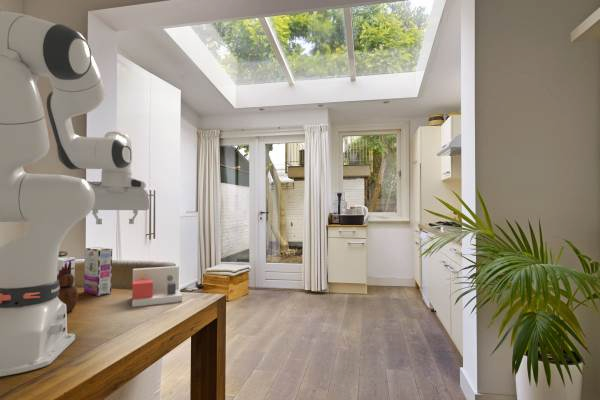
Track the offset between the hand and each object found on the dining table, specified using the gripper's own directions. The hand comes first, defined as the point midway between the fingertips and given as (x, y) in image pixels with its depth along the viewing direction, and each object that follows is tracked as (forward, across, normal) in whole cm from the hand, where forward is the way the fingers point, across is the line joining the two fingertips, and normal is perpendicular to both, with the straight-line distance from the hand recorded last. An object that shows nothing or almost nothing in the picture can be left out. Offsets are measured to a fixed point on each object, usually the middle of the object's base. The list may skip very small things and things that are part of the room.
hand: (115, 224), depth 112 cm
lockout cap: (+24, +8, -2) cm, 25 cm away
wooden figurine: (+26, -13, -4) cm, 29 cm away
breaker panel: (+26, +13, 0) cm, 29 cm away
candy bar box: (+26, -6, +18) cm, 32 cm away
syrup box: (+26, -16, +10) cm, 32 cm away
